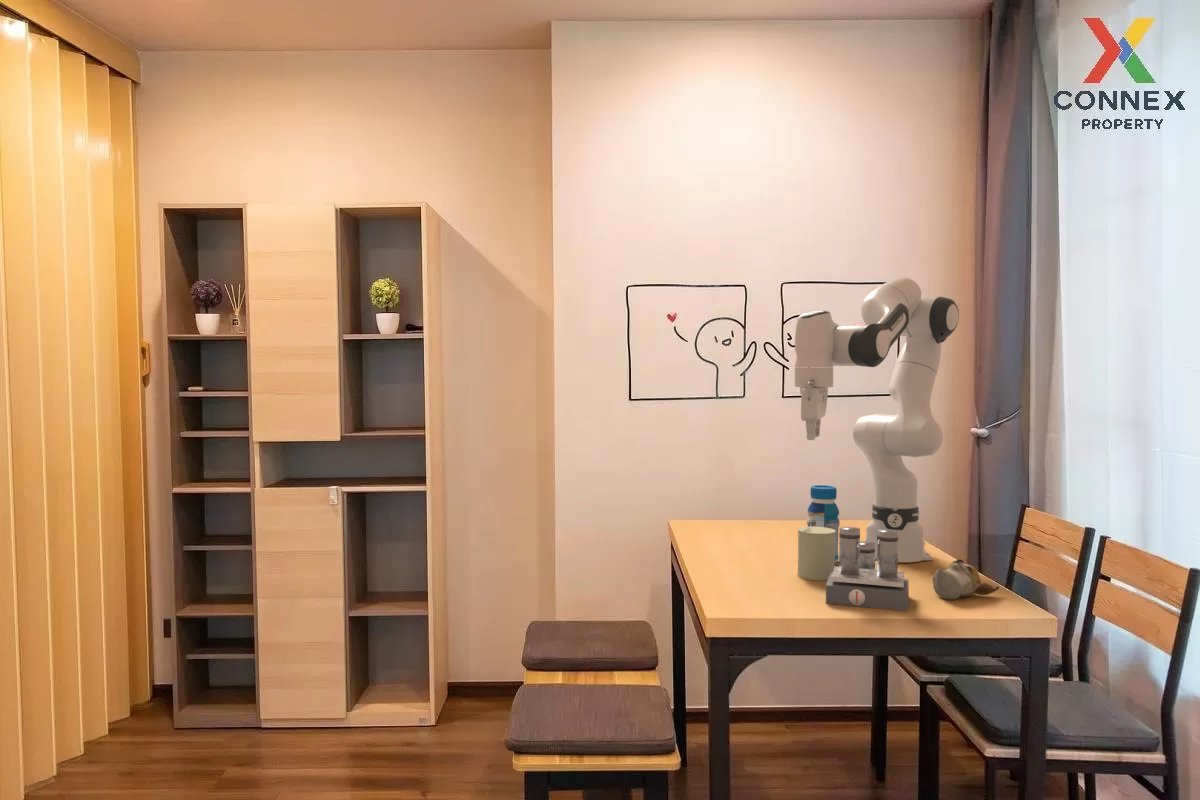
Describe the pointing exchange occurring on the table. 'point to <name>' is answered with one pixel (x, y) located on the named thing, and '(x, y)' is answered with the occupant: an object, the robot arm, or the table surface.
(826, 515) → the beverage bottle
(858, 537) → the cylinder
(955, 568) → the ceramic sculpture
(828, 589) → the scale body
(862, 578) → the scale pan
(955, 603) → the table surface
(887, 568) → the cylinder
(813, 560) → the can
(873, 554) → the cylinder
